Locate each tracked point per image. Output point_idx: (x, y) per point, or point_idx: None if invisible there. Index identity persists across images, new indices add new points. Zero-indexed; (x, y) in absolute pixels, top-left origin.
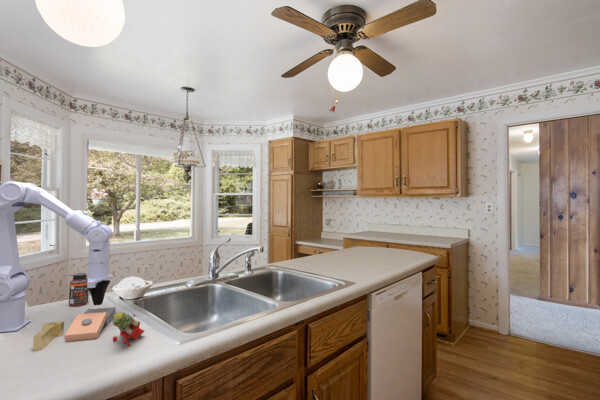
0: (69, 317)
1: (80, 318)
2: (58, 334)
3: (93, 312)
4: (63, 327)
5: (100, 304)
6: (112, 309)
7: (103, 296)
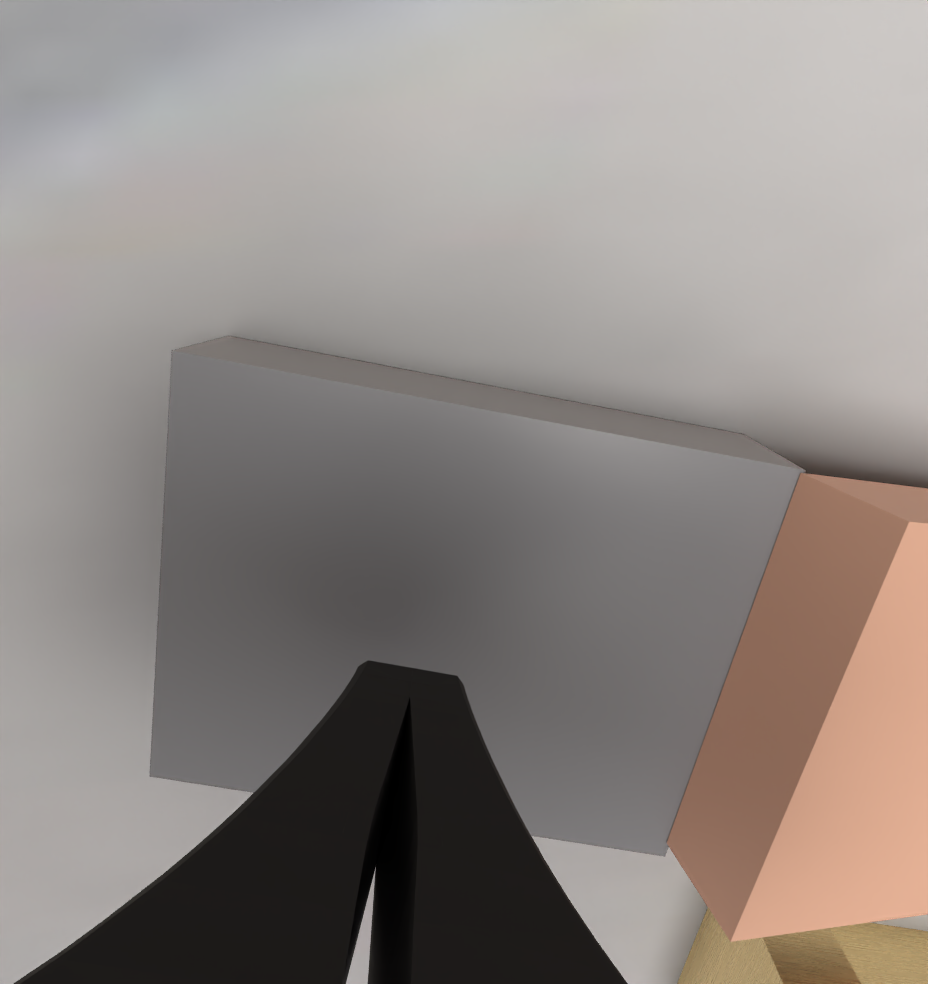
0: (150, 877)
1: (872, 865)
2: None
3: None
4: None
5: (465, 692)
6: (321, 402)
7: (387, 771)
